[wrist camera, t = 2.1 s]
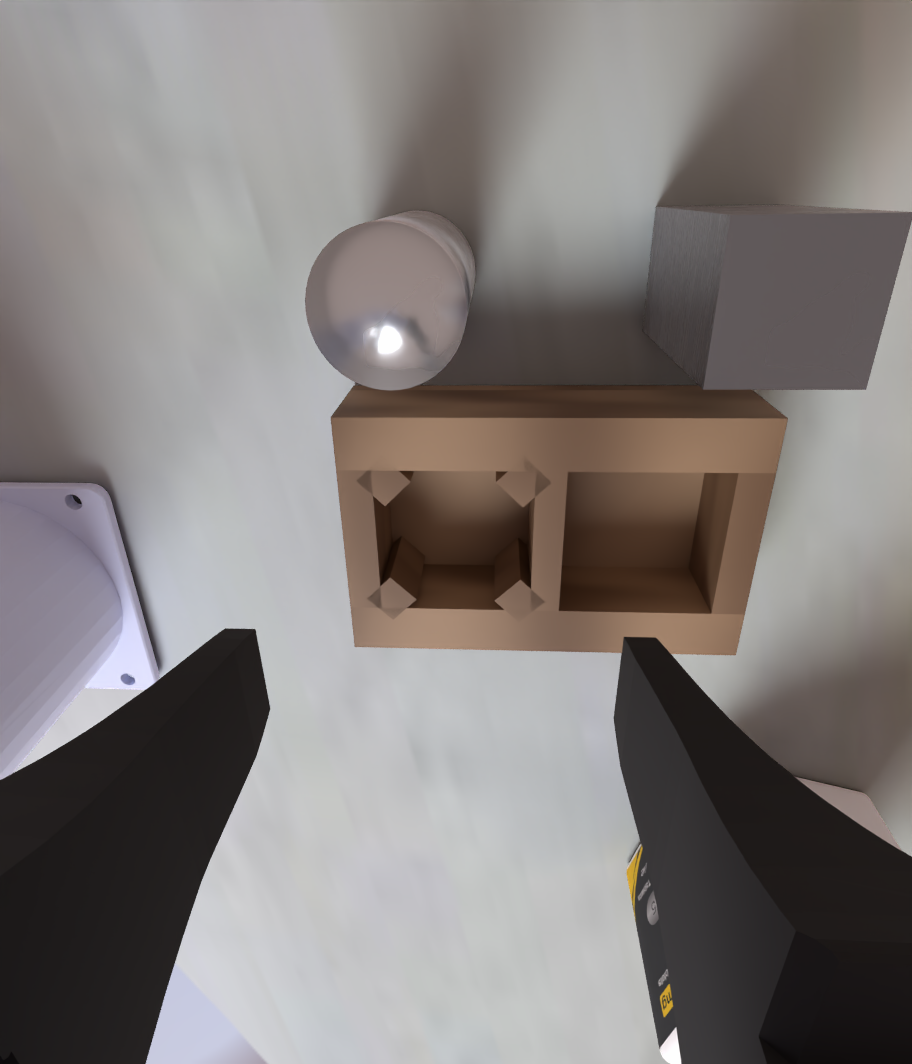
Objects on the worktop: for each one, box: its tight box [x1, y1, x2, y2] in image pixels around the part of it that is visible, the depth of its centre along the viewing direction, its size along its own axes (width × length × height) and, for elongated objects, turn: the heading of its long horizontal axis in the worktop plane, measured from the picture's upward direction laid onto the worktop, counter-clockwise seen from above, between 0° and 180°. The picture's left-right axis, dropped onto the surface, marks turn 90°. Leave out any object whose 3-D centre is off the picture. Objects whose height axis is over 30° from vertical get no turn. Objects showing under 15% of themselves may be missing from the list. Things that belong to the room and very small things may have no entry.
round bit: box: [305, 210, 476, 390], centre depth 15 cm, size 3×3×6 cm
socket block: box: [331, 385, 788, 655], centre depth 19 cm, size 11×7×3 cm, turn 91°
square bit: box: [642, 205, 912, 390], centre depth 15 cm, size 3×3×6 cm
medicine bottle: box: [627, 777, 901, 1064], centre depth 21 cm, size 7×7×12 cm
